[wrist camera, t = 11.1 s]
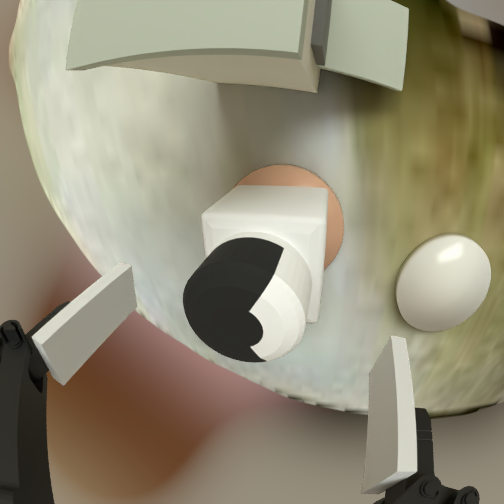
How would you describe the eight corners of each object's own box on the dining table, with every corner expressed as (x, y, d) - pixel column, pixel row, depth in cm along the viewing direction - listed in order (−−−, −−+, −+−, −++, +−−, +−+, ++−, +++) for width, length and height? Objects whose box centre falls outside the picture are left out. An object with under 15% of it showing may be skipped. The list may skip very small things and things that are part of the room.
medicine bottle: (241, 263, 25) (181, 363, 15) (236, 183, 22) (152, 251, 12) (323, 270, 24) (308, 386, 13) (328, 186, 20) (323, 265, 10)
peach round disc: (355, 178, 21) (357, 182, 20) (327, 285, 26) (327, 292, 25) (232, 155, 22) (227, 157, 21) (223, 260, 27) (218, 266, 26)
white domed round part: (500, 247, 19) (505, 253, 18) (458, 329, 24) (461, 337, 23) (417, 220, 21) (420, 225, 20) (380, 314, 25) (381, 322, 24)
